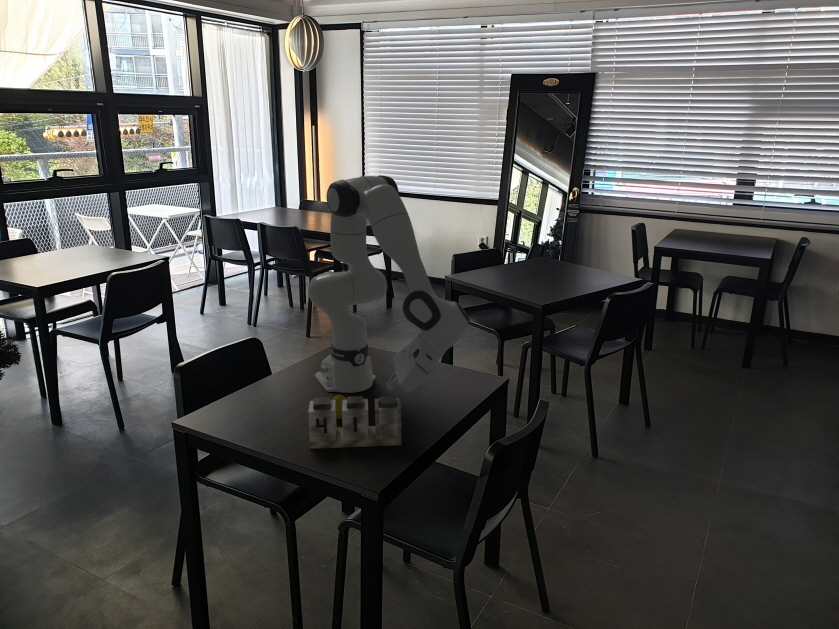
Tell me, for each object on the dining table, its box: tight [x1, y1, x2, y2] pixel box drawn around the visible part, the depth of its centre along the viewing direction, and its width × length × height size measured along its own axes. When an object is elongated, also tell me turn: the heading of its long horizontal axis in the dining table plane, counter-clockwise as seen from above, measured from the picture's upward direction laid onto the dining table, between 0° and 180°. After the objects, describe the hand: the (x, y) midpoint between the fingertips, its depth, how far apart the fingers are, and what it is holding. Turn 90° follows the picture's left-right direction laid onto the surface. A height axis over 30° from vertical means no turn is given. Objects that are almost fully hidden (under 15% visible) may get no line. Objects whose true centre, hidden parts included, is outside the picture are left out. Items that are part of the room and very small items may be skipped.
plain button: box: [379, 395, 397, 408], centre depth 179 cm, size 4×4×6 cm
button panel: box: [307, 395, 403, 450], centre depth 179 cm, size 25×9×12 cm, turn 95°
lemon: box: [331, 393, 347, 420], centre depth 191 cm, size 6×6×8 cm
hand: (387, 387), depth 177 cm, fingers closed
